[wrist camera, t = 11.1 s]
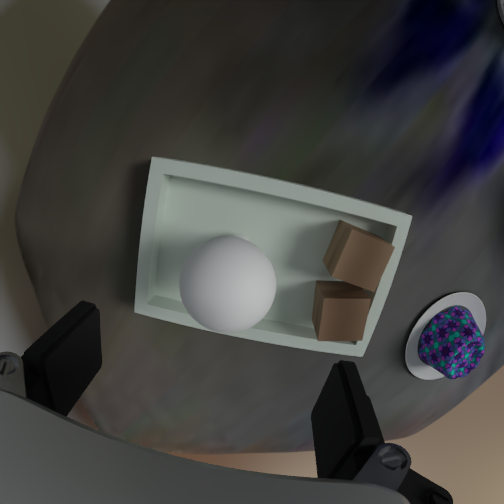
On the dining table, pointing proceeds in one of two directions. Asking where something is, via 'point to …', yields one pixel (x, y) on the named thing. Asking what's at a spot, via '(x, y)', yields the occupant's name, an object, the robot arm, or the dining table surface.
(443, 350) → the pudding
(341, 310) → the walnut block
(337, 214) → the tray
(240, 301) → the lightbulb
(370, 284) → the walnut block
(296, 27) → the dining table surface
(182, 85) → the dining table surface
